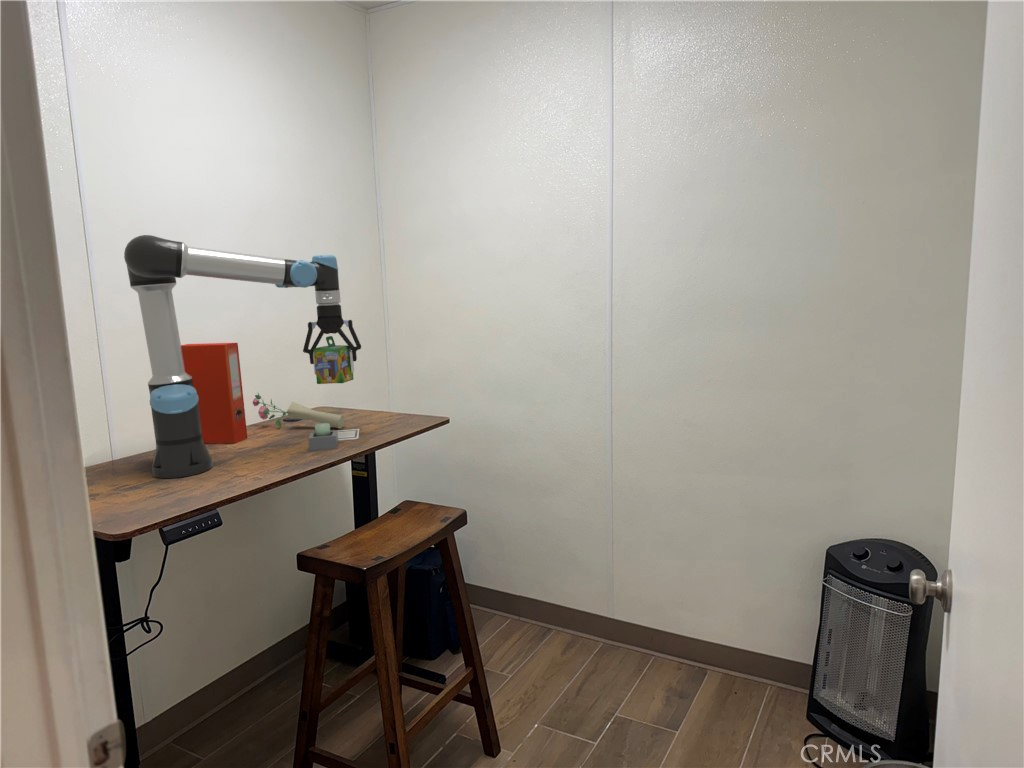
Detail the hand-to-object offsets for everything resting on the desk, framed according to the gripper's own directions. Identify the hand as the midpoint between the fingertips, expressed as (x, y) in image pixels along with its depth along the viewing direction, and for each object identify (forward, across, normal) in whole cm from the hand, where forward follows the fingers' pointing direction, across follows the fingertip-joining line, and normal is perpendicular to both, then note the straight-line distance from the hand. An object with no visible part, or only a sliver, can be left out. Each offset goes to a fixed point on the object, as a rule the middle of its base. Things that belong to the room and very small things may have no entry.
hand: (334, 372), depth 217 cm
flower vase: (+21, -16, +18) cm, 32 cm away
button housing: (+21, -4, -13) cm, 25 cm away
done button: (+18, -4, -13) cm, 22 cm away
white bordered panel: (+21, 0, 0) cm, 21 cm away
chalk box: (+3, 0, 0) cm, 3 cm away
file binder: (+21, -40, +8) cm, 46 cm away
